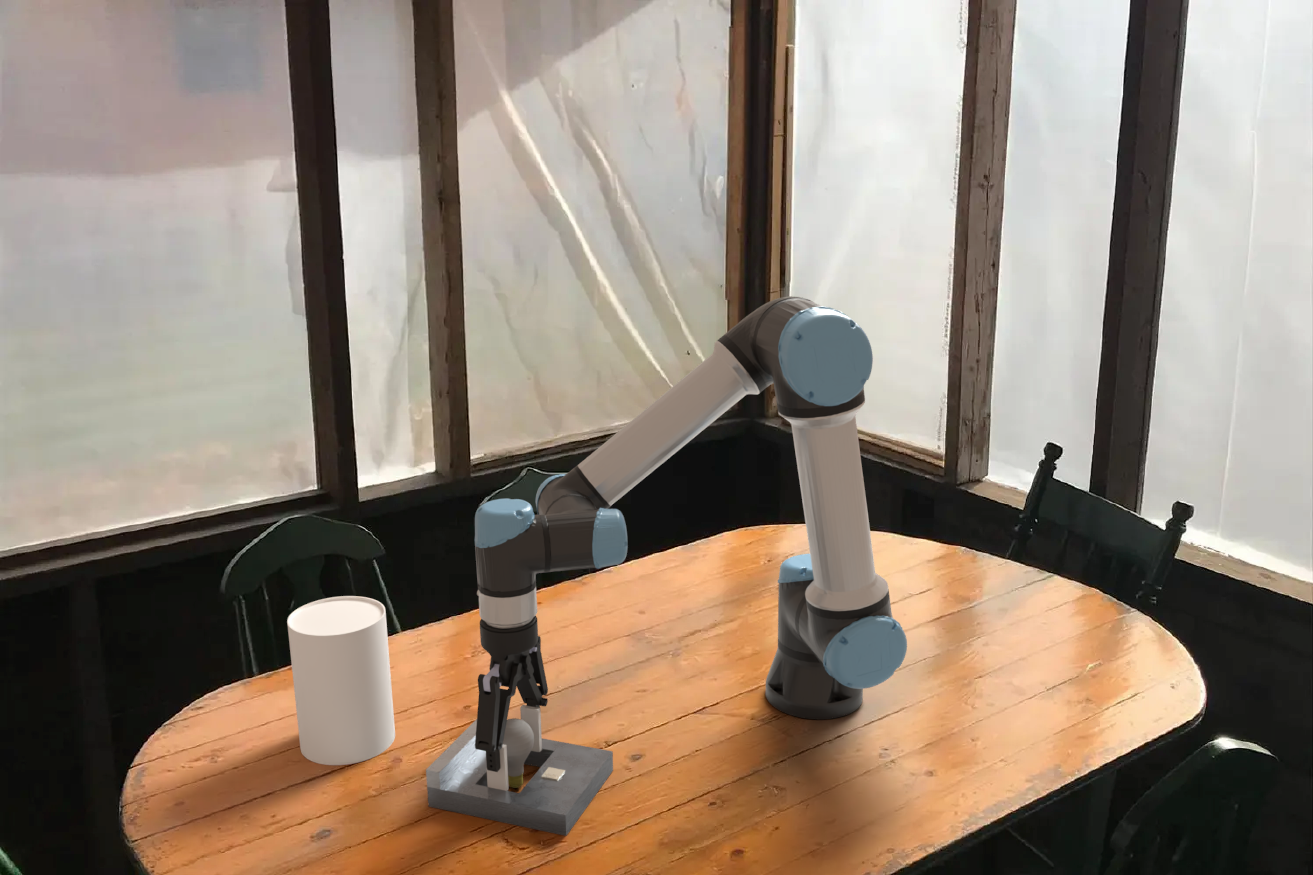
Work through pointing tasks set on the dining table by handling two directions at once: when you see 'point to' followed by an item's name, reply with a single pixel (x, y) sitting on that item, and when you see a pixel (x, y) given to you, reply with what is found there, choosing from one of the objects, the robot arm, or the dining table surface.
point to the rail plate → (543, 800)
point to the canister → (342, 679)
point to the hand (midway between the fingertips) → (515, 768)
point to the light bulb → (517, 749)
